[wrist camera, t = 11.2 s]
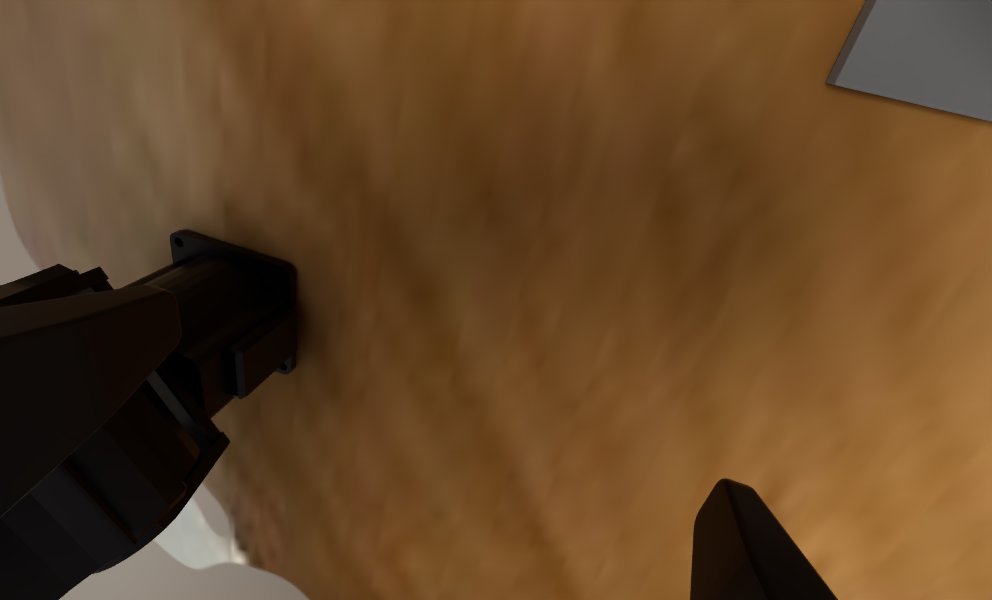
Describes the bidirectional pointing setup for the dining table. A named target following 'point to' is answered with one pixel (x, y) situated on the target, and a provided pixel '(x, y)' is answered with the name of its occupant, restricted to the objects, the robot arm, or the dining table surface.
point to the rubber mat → (922, 54)
